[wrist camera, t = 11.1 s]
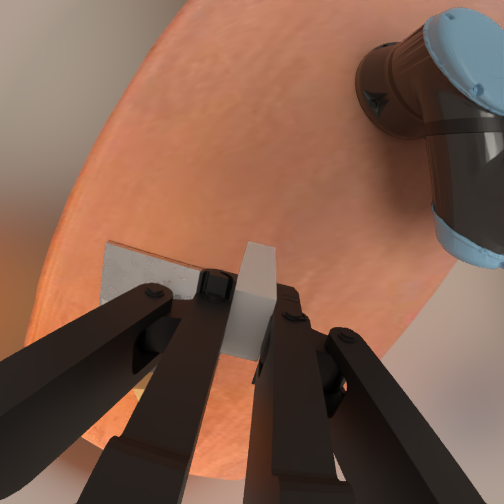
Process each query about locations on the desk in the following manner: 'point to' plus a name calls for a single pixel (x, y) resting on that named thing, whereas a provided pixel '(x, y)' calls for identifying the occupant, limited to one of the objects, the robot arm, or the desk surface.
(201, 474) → the desk surface
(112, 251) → the post plate
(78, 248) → the desk surface
